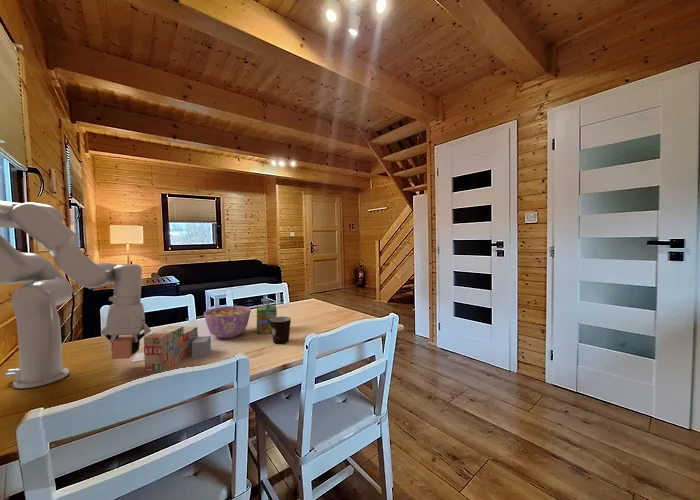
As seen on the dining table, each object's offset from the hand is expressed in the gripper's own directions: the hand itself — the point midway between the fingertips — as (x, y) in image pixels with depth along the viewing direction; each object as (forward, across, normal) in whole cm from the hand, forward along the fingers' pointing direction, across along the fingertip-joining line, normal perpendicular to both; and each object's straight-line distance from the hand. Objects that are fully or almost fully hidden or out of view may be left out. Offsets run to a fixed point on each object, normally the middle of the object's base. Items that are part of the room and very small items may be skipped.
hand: (125, 352), depth 104 cm
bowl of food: (+4, +30, +28) cm, 41 cm away
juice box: (+3, +47, +30) cm, 56 cm away
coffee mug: (+3, +53, +14) cm, 55 cm away
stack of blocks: (+5, +14, +5) cm, 16 cm away
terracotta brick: (+1, 0, 0) cm, 1 cm away
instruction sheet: (+6, +5, +11) cm, 13 cm away
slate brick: (+5, +23, +7) cm, 24 cm away
